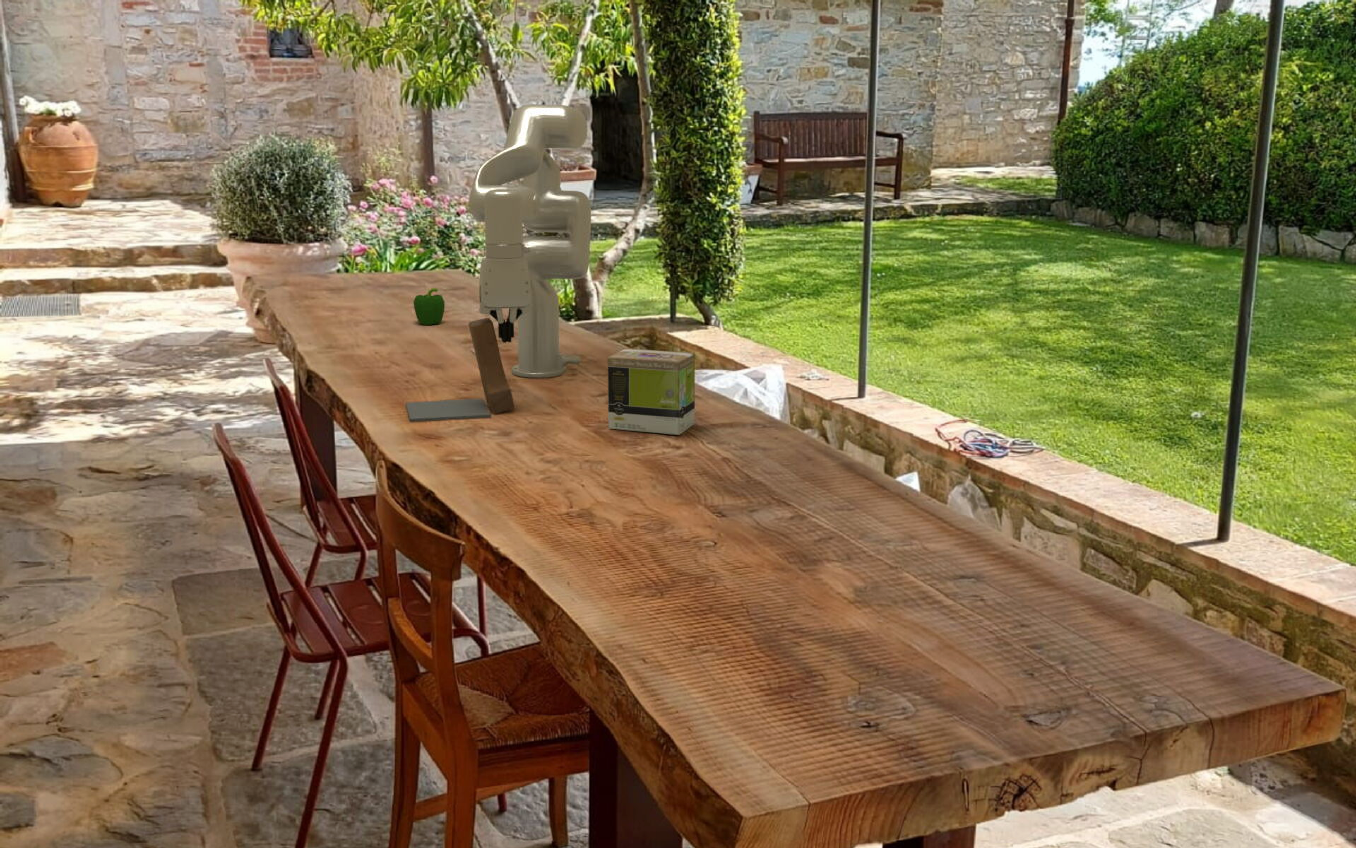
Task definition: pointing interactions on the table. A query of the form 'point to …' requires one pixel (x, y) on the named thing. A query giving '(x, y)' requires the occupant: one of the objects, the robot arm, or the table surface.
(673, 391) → the tea box
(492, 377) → the wooden block
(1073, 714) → the table surface
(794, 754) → the table surface
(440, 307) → the bell pepper
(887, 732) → the table surface
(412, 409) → the mat
